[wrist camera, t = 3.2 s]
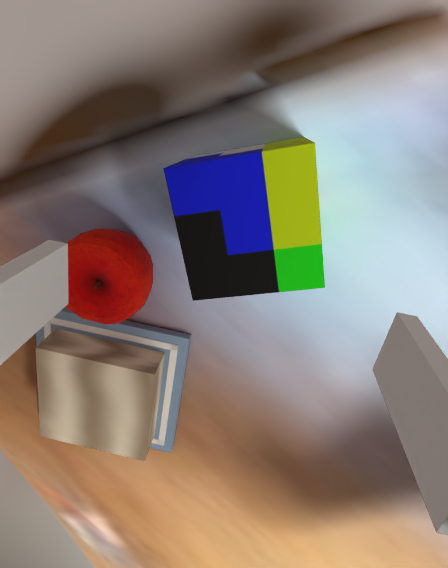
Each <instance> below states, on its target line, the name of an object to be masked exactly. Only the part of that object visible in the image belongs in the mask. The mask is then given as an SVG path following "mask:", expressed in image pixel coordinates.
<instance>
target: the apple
mask: <svg viewBox="0 0 448 568" xmlns="http://www.w3.org/2000/svg"><path fill="white" fill-rule="evenodd" d="M67 244H68V305H66V306H65V307H66V308H68V309H69V310H70V311H72V312H73V313H75V314H76V315H78V316H79V317H80V318H82V319H86V320H90V321H94V322H98V323H102V324H117V323H120V322H123V321H125V320H126V319H128V318H130V317H131V316H133V315H134V314H135V313H136V312H137V311H138V310H139V309H140V308H141V307H142V306H144V304H145V302H146V300H147V298H148V295H149V293H150V291H151V288H152V284H153V264H152V260H151V257H150V255H149V253H148V251H147V250H146V248H145V247H144V245H143V244H142V243H141V242H140V241H139V240H138V239H137V238H136V237H134V236H133V235H130V234H128V233H125V232H121V231H118V230H113V229H94V230H91V231H88V232H84V233H81V234H80V235H78V236H77V237H75V238H74V239H72V240H70V241H69V242H67Z"/></svg>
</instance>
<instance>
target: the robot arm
mask: <svg viewBox="0 0 448 568" xmlns="http://www.w3.org/2000/svg"><path fill="white" fill-rule="evenodd" d="M66 305H68V244H67V243H63V242H58V241H53V240H48V241H46V242H44V243H42V244H40V245H38V246H37V247H35V248H33V249H31V250H29V251H27V252H26V253H24V254H22V255H20V256H18V257H16V258H14V259H13V260H11V261H9V262H7V263H5V264H3V265H1V266H0V365H1V364H2V363H3V362H4V361H5V360H7V359H8V358H9V357H10V356H11V355H12V354H13V353H14V352H15V351H16V350H18V349H19V348H20V347H21V346H22V345H23V344H24V343H25V342H26V341H28V340H29V339H30V338H31V337H32V336H33V335H34V334H35V333H36V332H38V331H39V330H40V329H41V328H42V327H43V326H44V325H45V324H46V323H48V322H49V321H50V320H51V319H52V318H53V317H54V316H55V315H56V314H58V313H59V312H60V311H61V310H62V309H63V308H64V307H65V306H66ZM373 372H374V374H375V377H376V380H377V382H378V385H379V387H380V390H381V392H382V395H383V397H384V400H385V402H386V405H387V408H388V410H389V413H390V415H391V418H392V420H393V423H394V425H395V428H396V431H397V433H398V436H399V438H400V441H401V443H402V446H403V448H404V451H405V453H406V456H407V459H408V461H409V464H410V466H411V469H412V471H413V474H414V476H415V479H416V482H417V484H418V487H419V489H420V492H421V494H422V497H423V499H424V502H425V504H426V507H427V510H428V512H429V515H430V517H431V520H432V522H433V525H434V527H435V530H436V532H437V533H441V534H445V535H448V359H447V357H446V356H445V355H444V353H443V352H442V350H441V349H440V348H439V346H438V345H437V344H436V342H435V341H434V339H433V338H432V337H431V335H430V334H429V332H428V331H427V330H426V328H425V327H424V326H423V324H422V323H421V321H420V320H419V319H418V317H417V316H412V315H407V314H403V313H398V312H397V314H396V316H395V318H394V320H393V323H392V325H391V327H390V330H389V332H388V334H387V337H386V339H385V341H384V344H383V346H382V348H381V351H380V353H379V355H378V358H377V360H376V362H375V365H374V367H373Z"/></svg>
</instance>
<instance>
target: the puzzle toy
mask: <svg viewBox="0 0 448 568" xmlns="http://www.w3.org/2000/svg"><path fill="white" fill-rule="evenodd" d="M164 173H165V177H166V182H167V186H168V191H169V195H170V200H171V204H172V209H173V213H174V218H175V222H176V227H177V231H178V236H179V240H180V245H181V249H182V254H183V258H184V263H185V267H186V272H187V276H188V281H189V285H190V290H191V294H192V299H193V300H203V299H213V298H224V297H234V296H244V295H254V294H264V293H274V292H285V291H295V290H305V289H315V288H325V283H324V269H323V254H322V240H321V226H320V211H319V197H318V182H317V168H316V154H315V143H314V142H312V141H310V140H309V139H307V138H305V137H301V138H295V139H289V140H283V141H278V142H272V143H266V144H260V145H254V146H249V147H243V148H237V149H231V150H226V151H220V152H214V153H208V154H203V155H197V156H192V157H190V158H188V159H185V160H183V161H180V162H178V163H175V164H173V165H171V166H168V167H166V168H164Z"/></svg>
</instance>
